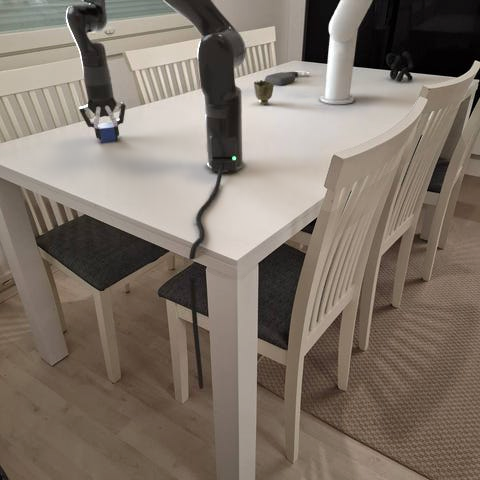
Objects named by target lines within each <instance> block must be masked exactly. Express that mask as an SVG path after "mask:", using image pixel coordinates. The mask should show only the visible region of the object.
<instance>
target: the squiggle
mask: <svg viewBox="0 0 480 480" xmlns="http://www.w3.org/2000/svg"><path fill="white" fill-rule="evenodd" d="M401 57H402V59H401ZM391 59H392V60H391ZM393 60H394V61H393ZM385 61H386V64H387V67H390V68H391V70H390V72H389V78H390V79H391V80H395V79H396V81H397V82H399V83H400V82H402V81H403V79H404V76H406V78H407V80H408V81H412V80H413V79H414V77H413V75H412V74H411V73H410V72H409V71H410V70H412V69H413V68H414V64H413V61H412V57H411V54H410V53H409V52H408V51H403V53H402V54H401V55H396V54H394V53H392V52H390V53H387V55H386V57H385ZM406 62H407V65H408V66H407V67H405V66H404V65H405V64H406ZM400 70H401V71H400Z"/></svg>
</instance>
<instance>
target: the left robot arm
mask: <svg viewBox="0 0 480 480" xmlns="http://www.w3.org/2000/svg"><path fill="white" fill-rule="evenodd" d="M162 1H163V2H164V3H165V4H166V5H167V6H169V7H170V8H171V9H172V10H173V11H175V12H176V13H178V14H179V15H180V16H182V17H183V18H184V19H185V20H187V21H188V22H189V23H190V24H191V25H192V26H193V27H194V28H195V29H196V31H197V32H198V33H199V34H200V37H202V38H201V39H200V41H199V43H198V46H197V68H198V76H199V85H200V90H201V92H202V94H203V99H204V100H203V101H204V116H205V117H204V118H205V133H206V134H205V135H206V153H207V168H208V169H209V170H211V172H212V173H217V177H216V182H215V185H214V188H213V190H212V192H211V194H210V195H209V197H208V199H206V202H205V203H204V204H203V205H202V206H201V207H200V208H199V210H198V212H197V214H196V217H195V221H196V225H197V228H198V230H199V236H198V238H197V239H196V240H195V241H194V242H193V244H192V246H191V247H190V251H189V258H188V259H189V260H190V261H191V260H194V259H195V257H196V252H197V249H198V247H199V246H200V245H201V244H202V243H203V241H204V240H205V237H206V233H205V228H204V226H203V223H202V216H203V213H204V212H205V211H206V210H207V208H208V207H209V206H210V205H211V203H212V202H213V200H214V199H215V197H216V195H217V193H218V191H219V189H220V185H221V181H222V176H223V173H237V171H239V170H240V169H242V168H243V166H244V160H243V114H242V113H243V109H242V108H243V106H242V105H243V104H242V103H243V102H242V101H243V100H242V99H243V98H242V96H243V95H242V89H241V88H240V87H239V86H237V85H236V79H235V77H236V76H235V69H237V68H238V67H240V66H241V65H242V64H243V63H244V61H245V58H246V56H247V55H246V54H247V48H246V44H245V41H244V39H243V37H242V35H241V34H240V32H239V31H238V30H237V28H235V27H234V25H233V24H232V23H231V22H230V21H229V20H228V19H227V18H226V17H225V15H224V14H223V13H222V12H221V11H220V9H219V8H218V7H217V6H216V4H215V3H214V2H213V0H162ZM82 2H84V3H87V4H75V5H70V6H69V7H68V8H67V10H66V13H65V15H66V16H65V19H66V20H65V21H66V23H67V27H68V28H69V30H70V33H71V36H72V37H73V39H74V42H75V44H76V46H77V49H78V52H79V56H80V61H81V66H82V76H83V82H84V87H85V91H86V96H87V103H86V105H84V106H79V109H78V111H79V113H80V114H81V117H82V118H83V120H84V122H85V124H86V126H87V127H88V128H93V130H94V133H95V137H96V139H98V140H99V141H101V136H100V130H99V125H98V124H100V123H99V122H100V118H103V117H109V119H110V120H111V123H113V126H114V131H115V137H116V139H118V137H119V136H120V129H119V125H122V124H124V121H125V113H126V108H127V107H126V103H125V102H124V101H123V102H118V101H116V99H115V96H114V89H113V83H112V77H111V71H110V68H109V64H108V60H107V59H108V57H107V51H106V48H105V45H104V44H103V43H102V42H99V41H91V40H90V38H89V36H88V34H94V33H95V34H96V33H100V32H103V31H104V30H105V29H106V27H107V25H108V15H107V9H106V8H107V7H106V0H82ZM116 107H117V109H118V111H119V113H118V118H117V119H116V116H115V115H114V111H115V109H116ZM89 110H90V112H92V113H93V116H94V117H93V121H91V120H90V119H91V118H90V117H89V116H88V113H89ZM189 286H190V287H189V288H190V289H189V290H190V305H191V306H190V308H191V319H192V320H191V321H192V331H193V340H194V341H193V343H194V351H195V360H196V371H197V380H198V389H199V390H203V389H204V377H203V368H202V367H203V366H202V357H201V356H202V355H201V347H200V337H199V336H200V335H199V325H198V323H199V322H198V311H197V310H198V309H197V292H196V291H197V290H196V278H190V279H189Z"/></svg>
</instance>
